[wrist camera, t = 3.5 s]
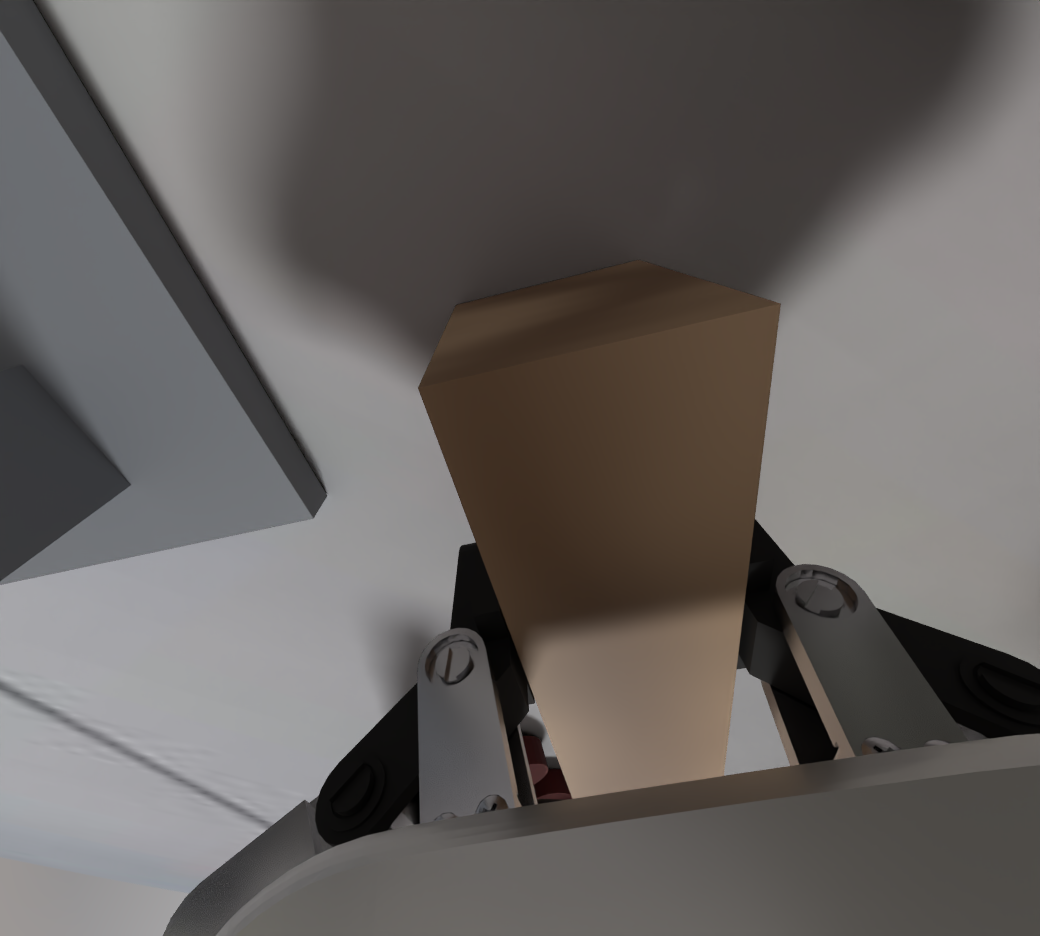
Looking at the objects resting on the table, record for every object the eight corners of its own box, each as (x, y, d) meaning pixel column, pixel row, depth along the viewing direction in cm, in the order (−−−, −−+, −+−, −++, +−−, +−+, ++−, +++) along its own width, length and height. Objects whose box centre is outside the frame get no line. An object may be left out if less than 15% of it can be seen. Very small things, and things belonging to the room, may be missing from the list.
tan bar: (639, 259, 8) (780, 303, 4) (658, 617, 15) (723, 777, 11) (456, 304, 9) (417, 388, 5) (551, 636, 15) (572, 799, 11)
